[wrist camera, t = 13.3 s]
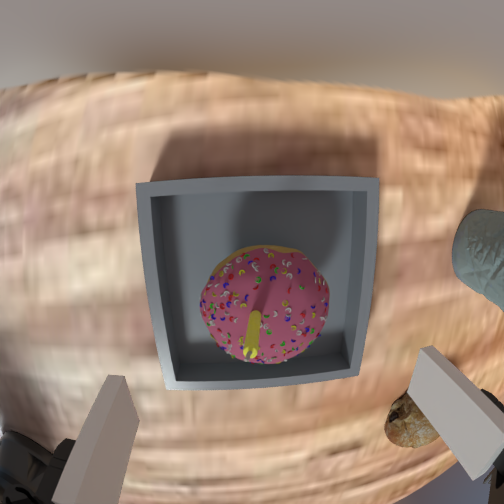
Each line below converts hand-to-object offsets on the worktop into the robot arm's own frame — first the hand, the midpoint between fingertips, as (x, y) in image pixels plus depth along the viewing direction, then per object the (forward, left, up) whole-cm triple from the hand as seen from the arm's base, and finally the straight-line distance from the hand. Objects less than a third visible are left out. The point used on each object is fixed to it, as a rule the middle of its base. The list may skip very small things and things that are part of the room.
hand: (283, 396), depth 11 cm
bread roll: (+21, -20, -14) cm, 32 cm away
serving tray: (0, 0, -14) cm, 14 cm away
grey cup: (+24, +2, -14) cm, 28 cm away
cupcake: (0, 0, -13) cm, 13 cm away
